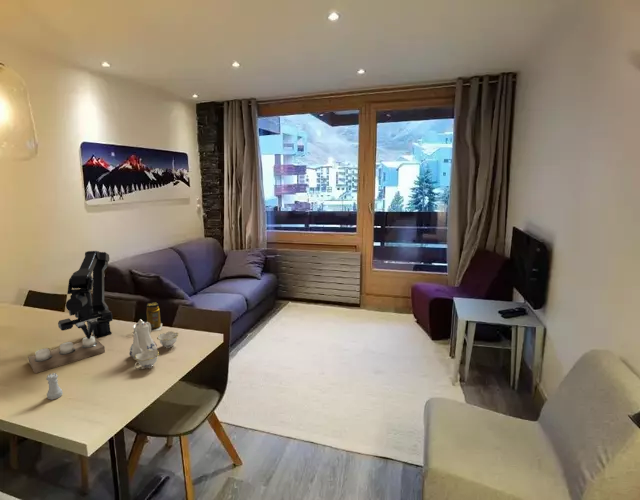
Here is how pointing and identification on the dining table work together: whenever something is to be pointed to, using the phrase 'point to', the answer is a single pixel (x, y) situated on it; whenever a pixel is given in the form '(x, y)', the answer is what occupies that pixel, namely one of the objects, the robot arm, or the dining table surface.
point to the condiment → (154, 316)
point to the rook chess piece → (53, 387)
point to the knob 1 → (42, 354)
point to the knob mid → (66, 347)
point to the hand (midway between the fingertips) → (88, 338)
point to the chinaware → (148, 344)
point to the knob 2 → (88, 341)
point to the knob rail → (65, 356)
